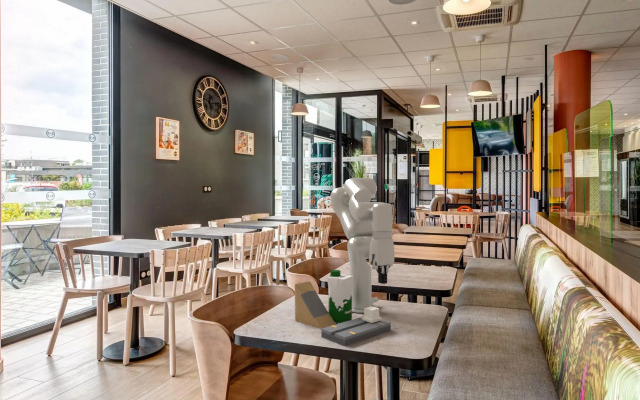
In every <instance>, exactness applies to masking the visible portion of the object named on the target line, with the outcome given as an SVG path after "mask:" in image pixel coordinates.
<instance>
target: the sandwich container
mask: <svg viewBox="0 0 640 400" xmlns="http://www.w3.org/2000/svg"><path fill="white" fill-rule="evenodd" d="M328 311H329V310H328V309H327V308H326V306H325V305H324V302H323V301H322V300H321V298H320V296H319V295H318V292H317V291H316V290H315V288H314V286H313V284H312V282H311V281H303V282H298V283H295V284H294V321H295V322H299V323H301V324H304V325H305V326H310V327H313V328H316V329H320V330H321V329H322V328H325V327H329V326H332V325H336V324H337V323H335V322H334V321H333V319H332V317H331V316H330V314H329V313H328Z"/></svg>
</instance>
